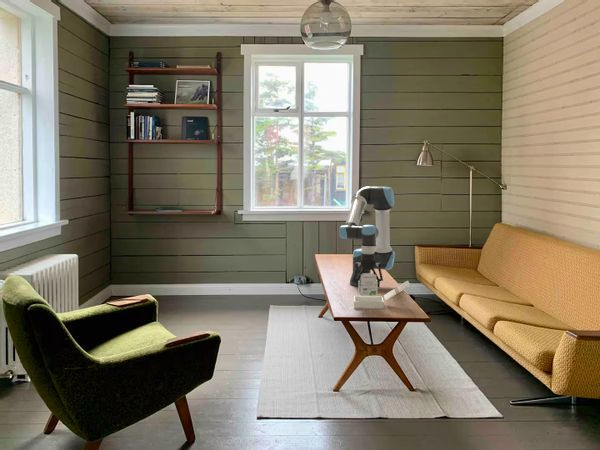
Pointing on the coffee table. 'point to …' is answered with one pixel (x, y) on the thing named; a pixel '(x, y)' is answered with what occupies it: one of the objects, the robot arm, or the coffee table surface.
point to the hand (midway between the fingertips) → (367, 292)
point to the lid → (396, 290)
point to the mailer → (368, 302)
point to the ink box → (368, 284)
